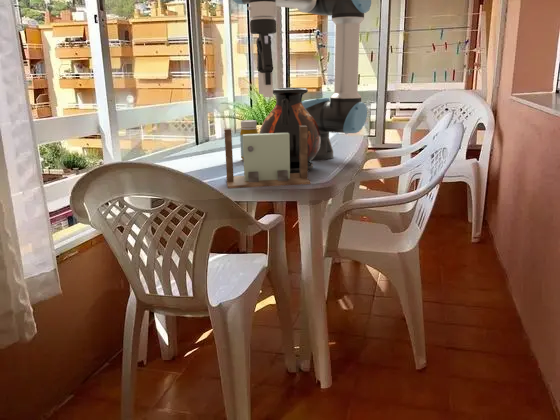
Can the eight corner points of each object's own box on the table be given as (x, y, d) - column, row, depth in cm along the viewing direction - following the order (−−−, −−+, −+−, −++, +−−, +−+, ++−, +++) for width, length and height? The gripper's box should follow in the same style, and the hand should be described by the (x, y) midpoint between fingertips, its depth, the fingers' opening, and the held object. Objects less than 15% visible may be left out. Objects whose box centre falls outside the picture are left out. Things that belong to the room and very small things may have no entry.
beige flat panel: (288, 176, 156) (287, 132, 152) (290, 179, 152) (290, 134, 148) (244, 179, 155) (242, 134, 151) (245, 182, 151) (243, 136, 147)
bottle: (239, 160, 194) (238, 121, 190) (243, 157, 201) (241, 119, 197) (257, 160, 193) (255, 121, 189) (260, 157, 200) (258, 119, 196)
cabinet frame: (303, 177, 162) (302, 123, 157) (310, 186, 150) (310, 128, 145) (226, 181, 159) (223, 126, 154) (228, 190, 147) (225, 131, 142)
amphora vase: (266, 163, 186) (264, 87, 178) (323, 164, 183) (323, 86, 175) (253, 176, 166) (250, 90, 158) (317, 177, 162) (317, 89, 154)
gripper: (246, 22, 152) (249, 93, 159) (253, 15, 129) (256, 98, 135) (270, 22, 153) (273, 92, 159) (282, 14, 130) (284, 97, 136)
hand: (265, 95), depth 147 cm, fingers open, 13 cm apart
